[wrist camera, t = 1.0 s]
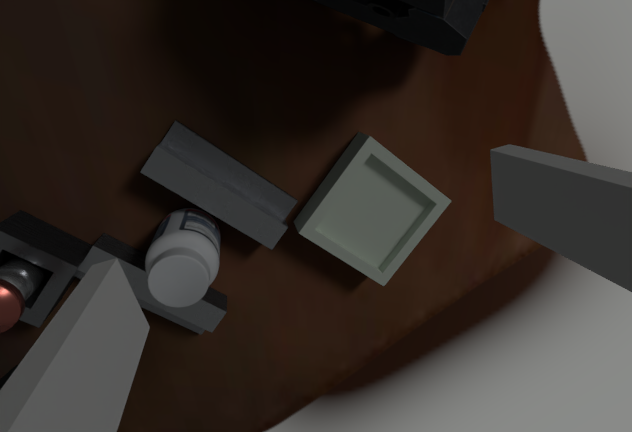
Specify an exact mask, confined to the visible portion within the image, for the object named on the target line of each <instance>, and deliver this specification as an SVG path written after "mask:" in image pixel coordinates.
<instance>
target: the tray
mask: <svg viewBox="0 0 632 432" xmlns="http://www.w3.org/2000/svg"><path fill="white" fill-rule="evenodd" d="M450 202H451V200H450V199H449V198H447V197H446V196H445V195H443V194H442V193H441V192H440V191H438V190H437V189H436V188H435V187H433V186H432V185H431V184H430V183H428V182H427V181H426V180H425V179H423V178H422V177H421V176H420V175H418V174H417V173H416V172H415V171H413V170H412V169H411V168H409V167H408V166H407V165H406V164H404V163H403V162H402V161H401V160H399V159H398V158H397V157H396V156H394V155H393V154H392V153H391V152H389V151H388V150H387V149H386V148H384V147H383V146H382V145H380V144H379V143H378V142H377V141H375V140H374V139H373V138H372V137H370V136H368V135H366V134H363V133H361V132H358V133H357V135H356V136H355V138H354V139H353V140H352V142H351V143H350V144H349V146H348V147H347V149H346V150H345V151H344V153H343V154H342V155H341V157H340V158H339V160H338V161H337V162H336V164H335V165H334V167H333V168H332V169H331V171H330V172H329V173H328V175H327V176H326V178H325V179H324V180H323V182H322V183H321V184H320V186H319V187H318V189H317V190H316V191H315V193H314V194H313V195H312V197H311V198H310V200H309V201H308V202H307V204H306V205H305V206H304V208H303V209H302V211H301V212H300V213H299V215H298V216H297V217H296V219H295V220H294V224H295V226H296V228H297V231H298V233H299V234H301V235H302V236H304V237H305V238H307V239H309V240H310V241H312V242H313V243H315V244H317V245H318V246H320V247H321V248H323V249H325V250H326V251H328V252H329V253H331V254H333V255H334V256H336V257H338V258H339V259H341V260H342V261H344V262H346V263H347V264H349V265H350V266H352V267H354V268H355V269H357V270H358V271H360V272H362V273H363V274H365V275H366V276H368V277H370V278H371V279H373V280H374V281H376V282H378V283H379V284H381V285H382V286H385V284H386V283H387V282H388V280H389V279H390V278H391V277H392V275H393V274H394V273H395V272H396V270H397V269H398V268H399V267H400V265H401V264H402V263H403V262H404V260H405V259H406V258H407V257H408V255H409V254H410V253H411V251H412V250H413V249H414V248H415V246H416V245H417V244H418V243H419V241H420V240H421V239H422V238H423V236H424V235H425V234H426V233H427V231H428V230H429V229H430V227H431V226H432V225H433V224H434V222H435V221H436V220H437V219H438V217H439V216H440V215H441V214H442V212H443V211H444V210H445V209H446V207H447V206H448V205H449V203H450Z"/></svg>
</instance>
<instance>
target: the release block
mask: <svg viewBox="0 0 632 432" xmlns="http://www.w3.org/2000/svg"><path fill="white" fill-rule="evenodd" d="M92 247H93V246H92V245H90V244H88V243H86V242H84V241H82V240H80V239H78V238H76V237H74V236H72V235H70V234H68V233H66V232H64V231H62V230H60V229H58V228H56V227H54V226H52V225H50V224H48V223H46V222H44V221H42V220H40V219H38V218H36V217H34V216H32V215H30V214H28V213H26V212H24V211H22V210H20V211H18V212H17V213H15V214H14V215H12V216H10V217H9V218H7V219H5V220H4V221H2V222H0V267H1V266H3V265H4V264H5V263H6V262H8V261H9V260H10V259H11V258H12V257H13V256H14V255H17V256H19V257H21V258H23V259H25V260H27V261H30V262H32V263H34V264H36V265H38V266H41V267H43V268H45V269H47V270H49V271H52V272H54V273H53V275H52V276H51V278H50V279H49V281H48V282H47V281H44V282H43V283H42V284H41V285H40V286H39V287H38V288H37V289H36V290H35V291H34V292H33V293H32V294H31V296H30V297H29V298H28V299H27V300H26V301H25V310H24V313H23V315H22V316H21V318H20V319H19V320H21V321H24V322H26V323H29V324H31V325H34V326H36V327H38V328H39V327H40V326H41V325H42V324H43V322H44V321H45V320H46V319H47V317H48V316H49V315H50V313H51V312H52V311H53V310H54V308H55V307H56V306H57V304H58V303H59V302H60V301H61V299H62V297H63V296H64V294H65V293H66V291H67V290H68V288H69V287H70V285H71V283H72V282H73V280H74V279H75V276H76V275H77V273H78V272H79V270H78V268H79V267H80V265H81V264H82V262H83V261H84V259H85V257H86V256H87V254H88V253H89V251H90V250H91V248H92Z"/></svg>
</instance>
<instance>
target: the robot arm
mask: <svg viewBox="0 0 632 432" xmlns="http://www.w3.org/2000/svg"><path fill="white" fill-rule="evenodd" d="M490 155H491V171H492V188H493V204H494V220H496V221H498V222H500V223H502V224H504V225H505V226H507V227H509V228H511V229H513V230H515V231H517V232H519V233H521V234H523V235H524V236H526V237H528V238H530V239H532V240H534V241H536V242H538V243H540V244H542V245H543V246H545V247H547V248H549V249H551V250H553V251H555V252H557V253H559V254H561V255H562V256H564V257H566V258H568V259H570V260H572V261H574V262H576V263H578V264H580V265H581V266H583V267H585V268H587V269H589V270H591V271H593V272H595V273H597V274H598V275H601V276H602V277H604V278H606V279H608V280H610V281H612V282H614V283H616V284H618V285H619V286H621V287H623V288H625V289H627V290H629V291H631V292H632V172H628V171H623V170H619V169H615V168H610V167H606V166H601V165H597V164H593V163H588V162H584V161H580V160H575V159H571V158H567V157H562V156H558V155H554V154H549V153H545V152H541V151H536V150H532V149H528V148H523V147H519V146H515V145H510V144H509V145H505V146H502V147H499V148H495V149H492V150H490ZM149 328H150V327H149V325H148V322H147V320H146V318H145V316H144V314H143V312H142V310H141V308H140V305H139V303H138V301H137V299H136V297H135V295H134V293H133V291H132V289H131V286H130V284H129V282H128V280H127V278H126V276H125V274H124V272H123V269H122V267H121V265H120V263H119V261H118V259H117V258H115V259H111V260H108V261H104V262H101V263H97V264H94V265H92V266H91V268H90V269H89V270H88V272H87V273H86V274H85V276H84V277H83V278H82V280H81V281H80V282H79V284H78V285H77V287H76V288H75V289H74V291H73V292H72V293H71V295H70V296H69V297H68V299H67V300H66V301H65V303H64V304H63V306H62V307H61V308H60V310H59V311H58V312H57V314H56V315H55V316H54V318H53V319H52V321H51V322H50V323H49V325H48V326H47V327H46V329H45V330H44V331H43V333H42V334H41V335H40V337H39V338H38V340H37V341H36V342H35V344H34V345H33V346H32V348H31V349H30V350H29V352H28V353H27V354H26V356H25V357H24V359H23V360H22V361H21V363H20V364H19V365H16V366H15V367H14V368H13V369H11V370H10V371H9V372H8V373H7V374H6V375H5V376H3V377H2V378H1V379H0V432H117V429H118V426H119V422H120V419H121V416H122V413H123V410H124V407H125V404H126V401H127V397H128V394H129V391H130V388H131V385H132V382H133V379H134V375H135V372H136V369H137V366H138V363H139V360H140V357H141V353H142V350H143V347H144V344H145V341H146V338H147V335H148V332H149Z"/></svg>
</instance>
